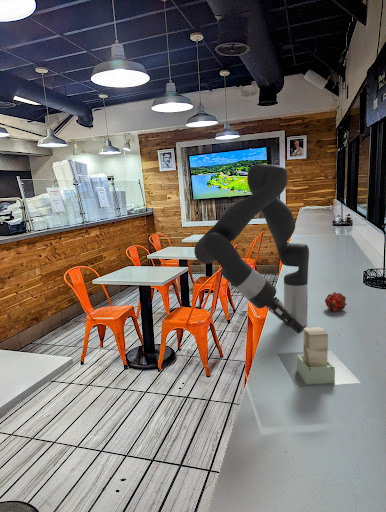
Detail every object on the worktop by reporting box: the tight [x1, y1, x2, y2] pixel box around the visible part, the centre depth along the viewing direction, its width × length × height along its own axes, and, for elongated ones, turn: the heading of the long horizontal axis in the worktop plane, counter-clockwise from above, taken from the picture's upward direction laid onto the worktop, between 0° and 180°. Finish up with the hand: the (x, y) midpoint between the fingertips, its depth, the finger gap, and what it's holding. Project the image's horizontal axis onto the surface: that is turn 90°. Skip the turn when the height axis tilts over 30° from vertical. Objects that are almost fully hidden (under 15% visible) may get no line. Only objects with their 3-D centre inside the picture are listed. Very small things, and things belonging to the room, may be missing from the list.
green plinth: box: [297, 355, 335, 385], centre depth 99 cm, size 8×8×5 cm
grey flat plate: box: [277, 349, 362, 388], centre depth 104 cm, size 20×18×1 cm
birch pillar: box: [302, 326, 329, 367], centre depth 97 cm, size 5×5×10 cm
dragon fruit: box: [324, 291, 348, 312], centre depth 152 cm, size 8×8×12 cm
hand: (296, 324), depth 96 cm, fingers open, 8 cm apart
